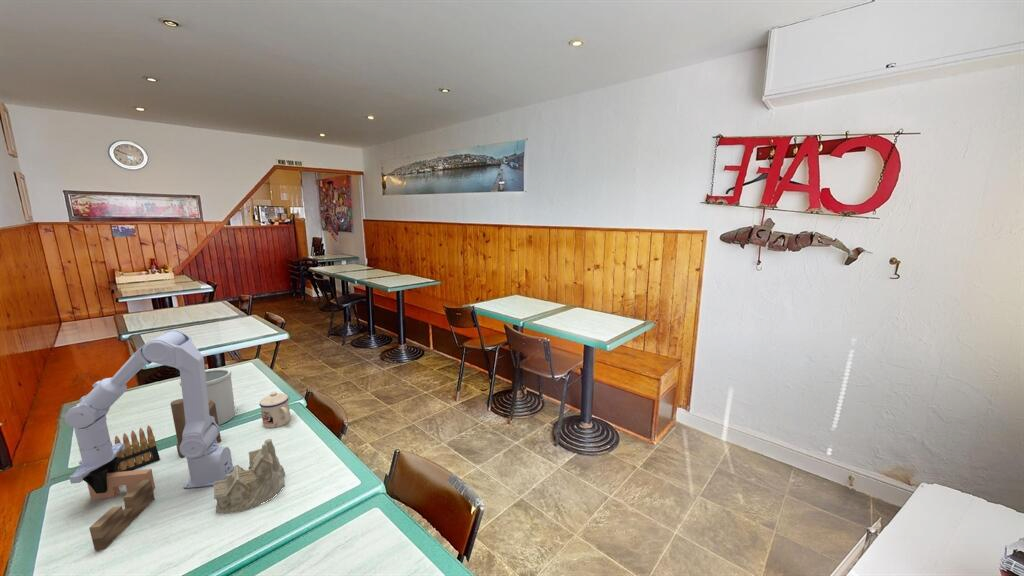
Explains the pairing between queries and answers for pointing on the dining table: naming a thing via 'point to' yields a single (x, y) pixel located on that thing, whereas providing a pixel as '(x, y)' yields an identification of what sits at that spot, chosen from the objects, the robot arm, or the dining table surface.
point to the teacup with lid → (275, 410)
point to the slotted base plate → (121, 515)
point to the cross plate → (122, 482)
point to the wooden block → (179, 419)
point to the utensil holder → (220, 392)
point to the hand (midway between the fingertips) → (105, 489)
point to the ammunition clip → (137, 451)
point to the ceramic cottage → (251, 482)
